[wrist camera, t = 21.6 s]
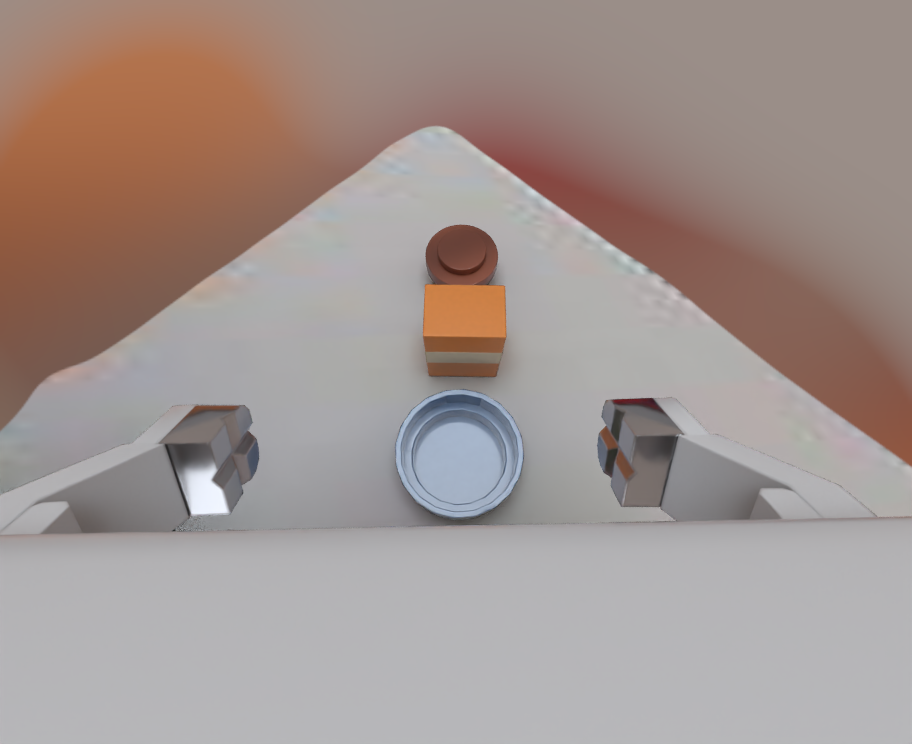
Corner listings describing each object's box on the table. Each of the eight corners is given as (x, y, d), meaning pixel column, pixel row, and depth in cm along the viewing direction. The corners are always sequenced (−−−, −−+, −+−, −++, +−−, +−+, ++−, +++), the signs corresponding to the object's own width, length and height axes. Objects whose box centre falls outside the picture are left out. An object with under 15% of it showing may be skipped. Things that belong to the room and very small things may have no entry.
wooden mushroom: (507, 282, 41) (514, 252, 37) (457, 320, 40) (457, 294, 35) (464, 239, 42) (465, 206, 38) (414, 274, 41) (410, 244, 37)
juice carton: (495, 333, 39) (505, 284, 32) (496, 377, 38) (506, 337, 30) (430, 332, 39) (424, 283, 32) (428, 376, 38) (422, 336, 30)
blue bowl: (538, 467, 35) (549, 458, 31) (451, 545, 33) (451, 546, 29) (464, 385, 38) (466, 366, 33) (379, 453, 36) (369, 442, 31)
